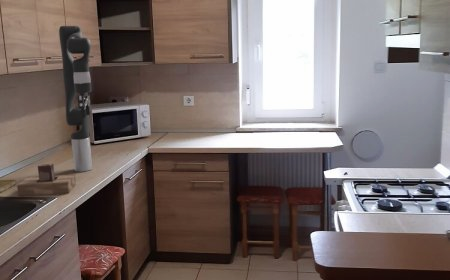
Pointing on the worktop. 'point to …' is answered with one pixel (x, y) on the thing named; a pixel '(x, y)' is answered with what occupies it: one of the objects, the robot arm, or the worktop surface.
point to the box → (46, 173)
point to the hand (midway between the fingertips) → (85, 116)
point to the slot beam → (46, 186)
